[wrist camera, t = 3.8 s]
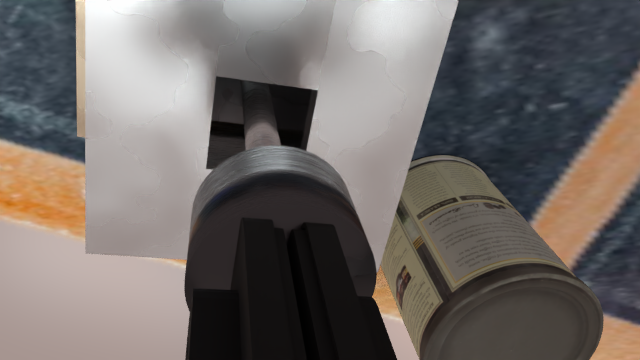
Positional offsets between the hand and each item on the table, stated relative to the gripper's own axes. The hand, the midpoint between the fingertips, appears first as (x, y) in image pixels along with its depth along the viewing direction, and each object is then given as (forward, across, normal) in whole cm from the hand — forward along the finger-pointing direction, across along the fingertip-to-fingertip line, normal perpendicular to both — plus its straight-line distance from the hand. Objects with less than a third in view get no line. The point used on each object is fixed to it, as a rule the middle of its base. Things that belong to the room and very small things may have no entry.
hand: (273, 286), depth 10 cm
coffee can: (+26, -16, +13) cm, 33 cm away
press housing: (+26, 0, 0) cm, 26 cm away
